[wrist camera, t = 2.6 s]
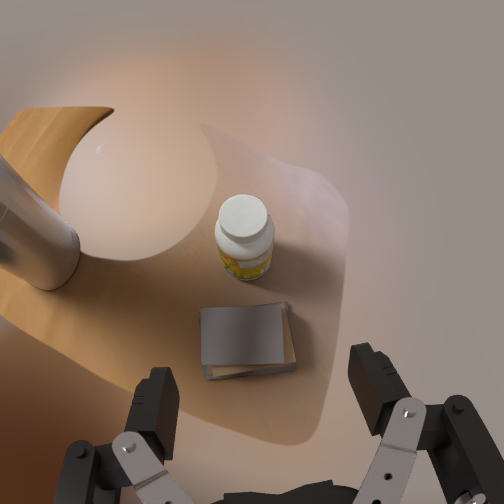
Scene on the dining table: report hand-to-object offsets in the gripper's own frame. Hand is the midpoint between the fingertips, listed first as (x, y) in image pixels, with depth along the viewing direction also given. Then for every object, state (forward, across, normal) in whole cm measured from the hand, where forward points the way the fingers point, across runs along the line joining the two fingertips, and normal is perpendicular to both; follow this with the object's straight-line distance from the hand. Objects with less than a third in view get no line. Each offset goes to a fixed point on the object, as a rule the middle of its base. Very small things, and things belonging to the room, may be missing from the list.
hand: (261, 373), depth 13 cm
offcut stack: (+15, +1, +10) cm, 18 cm away
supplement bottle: (+21, 0, +4) cm, 22 cm away
